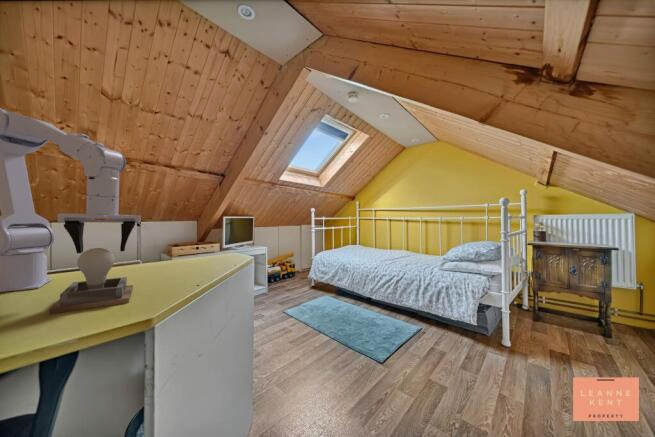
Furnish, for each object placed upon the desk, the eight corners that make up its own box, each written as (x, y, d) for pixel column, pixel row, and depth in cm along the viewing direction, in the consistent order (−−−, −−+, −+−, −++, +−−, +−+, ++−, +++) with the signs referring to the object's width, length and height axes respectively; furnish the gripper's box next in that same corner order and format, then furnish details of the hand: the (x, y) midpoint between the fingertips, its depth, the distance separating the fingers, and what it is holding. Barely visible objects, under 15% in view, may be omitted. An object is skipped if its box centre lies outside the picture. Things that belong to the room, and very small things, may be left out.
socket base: (66, 296, 55) (66, 282, 55) (132, 288, 62) (133, 275, 62) (49, 314, 46) (49, 296, 46) (128, 302, 53) (129, 287, 53)
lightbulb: (92, 301, 50) (93, 250, 50) (68, 298, 51) (69, 249, 51) (120, 292, 56) (121, 247, 56) (99, 290, 57) (100, 245, 57)
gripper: (53, 193, 50) (52, 256, 50) (139, 198, 58) (138, 252, 59) (64, 195, 56) (62, 251, 56) (141, 199, 64) (140, 248, 64)
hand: (102, 251), depth 58 cm, fingers open, 7 cm apart
